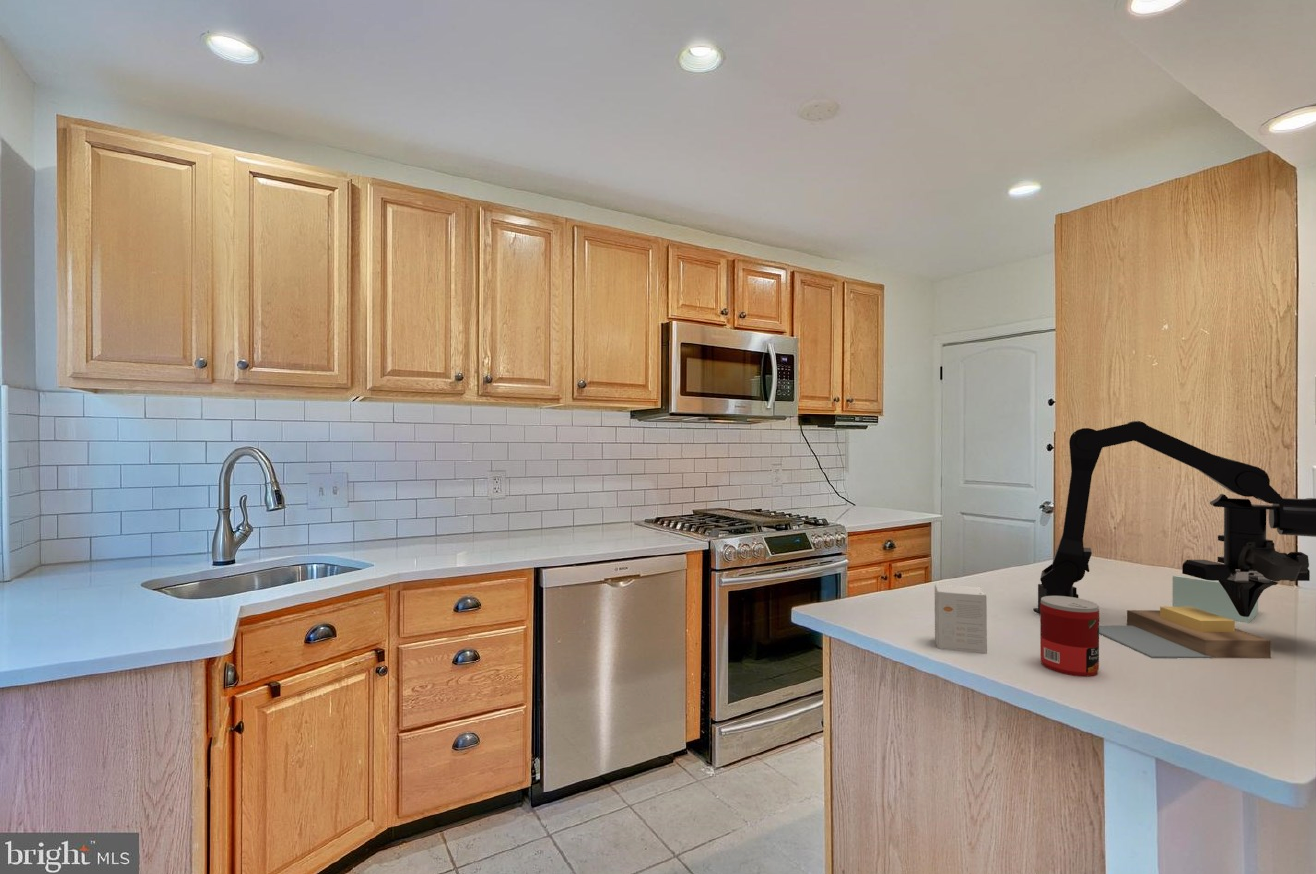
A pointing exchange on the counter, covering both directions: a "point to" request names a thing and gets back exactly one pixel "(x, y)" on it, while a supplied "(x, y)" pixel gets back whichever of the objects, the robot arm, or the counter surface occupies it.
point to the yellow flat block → (1197, 619)
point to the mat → (1147, 642)
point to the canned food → (1069, 635)
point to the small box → (961, 618)
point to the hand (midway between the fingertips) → (1244, 616)
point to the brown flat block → (1201, 637)
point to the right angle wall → (1206, 598)
